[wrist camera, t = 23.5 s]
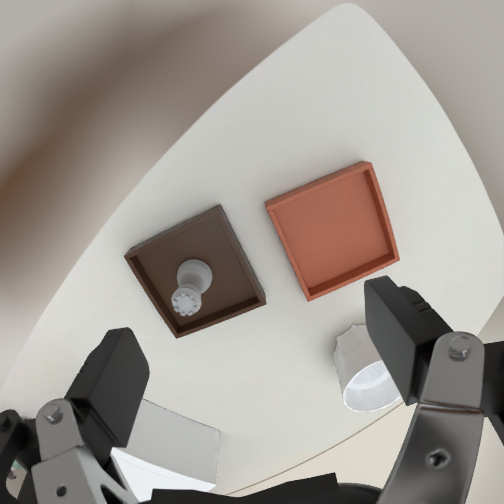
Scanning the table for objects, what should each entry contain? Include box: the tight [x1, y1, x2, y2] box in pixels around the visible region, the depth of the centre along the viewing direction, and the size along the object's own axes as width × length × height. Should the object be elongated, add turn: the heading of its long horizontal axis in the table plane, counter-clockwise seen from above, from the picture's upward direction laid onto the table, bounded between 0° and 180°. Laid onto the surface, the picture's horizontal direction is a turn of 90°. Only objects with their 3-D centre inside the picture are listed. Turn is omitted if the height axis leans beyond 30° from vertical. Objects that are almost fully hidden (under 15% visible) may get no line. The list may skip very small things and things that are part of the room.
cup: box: [333, 324, 401, 412], centre depth 40 cm, size 10×10×10 cm
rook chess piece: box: [171, 259, 212, 316], centre depth 36 cm, size 4×4×8 cm
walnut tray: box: [124, 205, 266, 339], centre depth 39 cm, size 13×13×3 cm
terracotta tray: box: [265, 161, 400, 302], centre depth 37 cm, size 13×13×3 cm
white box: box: [111, 399, 220, 502], centre depth 50 cm, size 45×21×12 cm, turn 148°
